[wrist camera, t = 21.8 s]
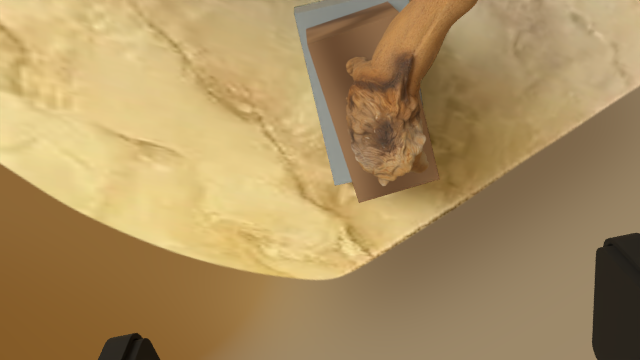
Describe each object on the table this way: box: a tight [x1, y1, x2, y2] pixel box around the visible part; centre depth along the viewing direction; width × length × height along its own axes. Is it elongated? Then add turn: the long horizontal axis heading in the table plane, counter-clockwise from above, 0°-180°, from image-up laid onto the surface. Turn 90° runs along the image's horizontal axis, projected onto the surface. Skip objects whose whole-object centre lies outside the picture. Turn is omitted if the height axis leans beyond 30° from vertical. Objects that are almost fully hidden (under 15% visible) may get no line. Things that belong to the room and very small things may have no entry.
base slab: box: [294, 0, 423, 185], centre depth 39 cm, size 8×14×3 cm, turn 13°
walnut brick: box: [306, 1, 439, 203], centre depth 36 cm, size 6×12×5 cm, turn 18°
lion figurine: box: [346, 0, 478, 186], centre depth 27 cm, size 15×5×9 cm, turn 163°
